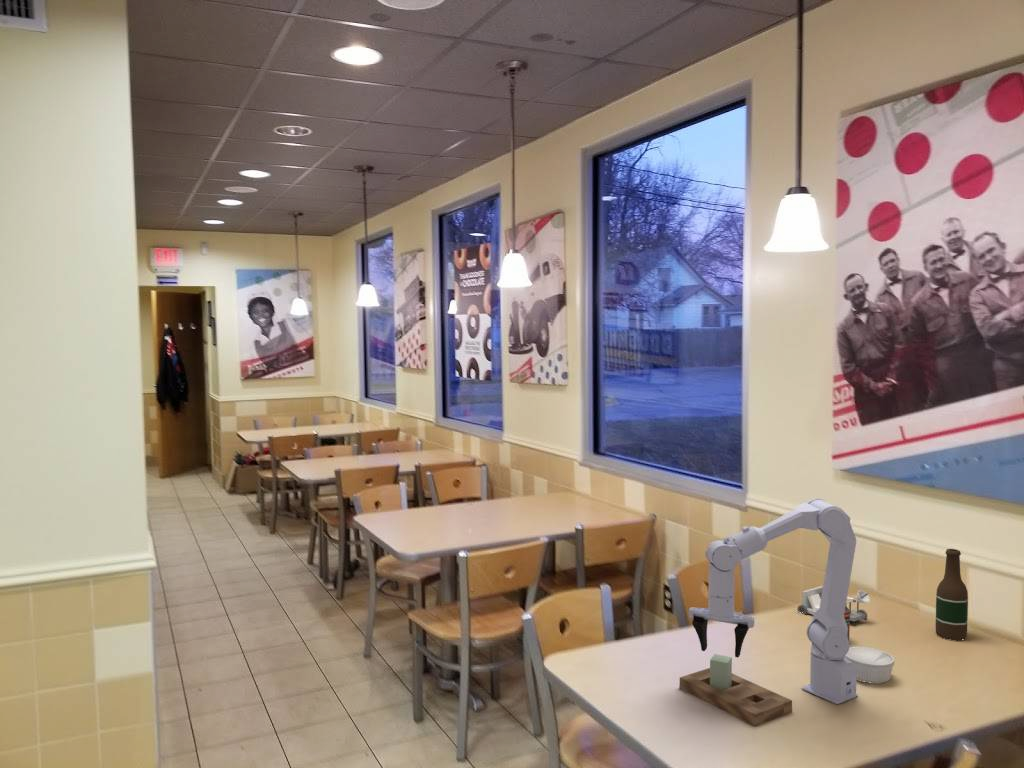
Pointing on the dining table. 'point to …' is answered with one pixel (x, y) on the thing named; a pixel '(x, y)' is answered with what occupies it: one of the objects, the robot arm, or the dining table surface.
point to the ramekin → (871, 664)
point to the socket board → (738, 697)
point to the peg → (721, 672)
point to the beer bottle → (952, 600)
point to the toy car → (813, 599)
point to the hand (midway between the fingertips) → (720, 652)
